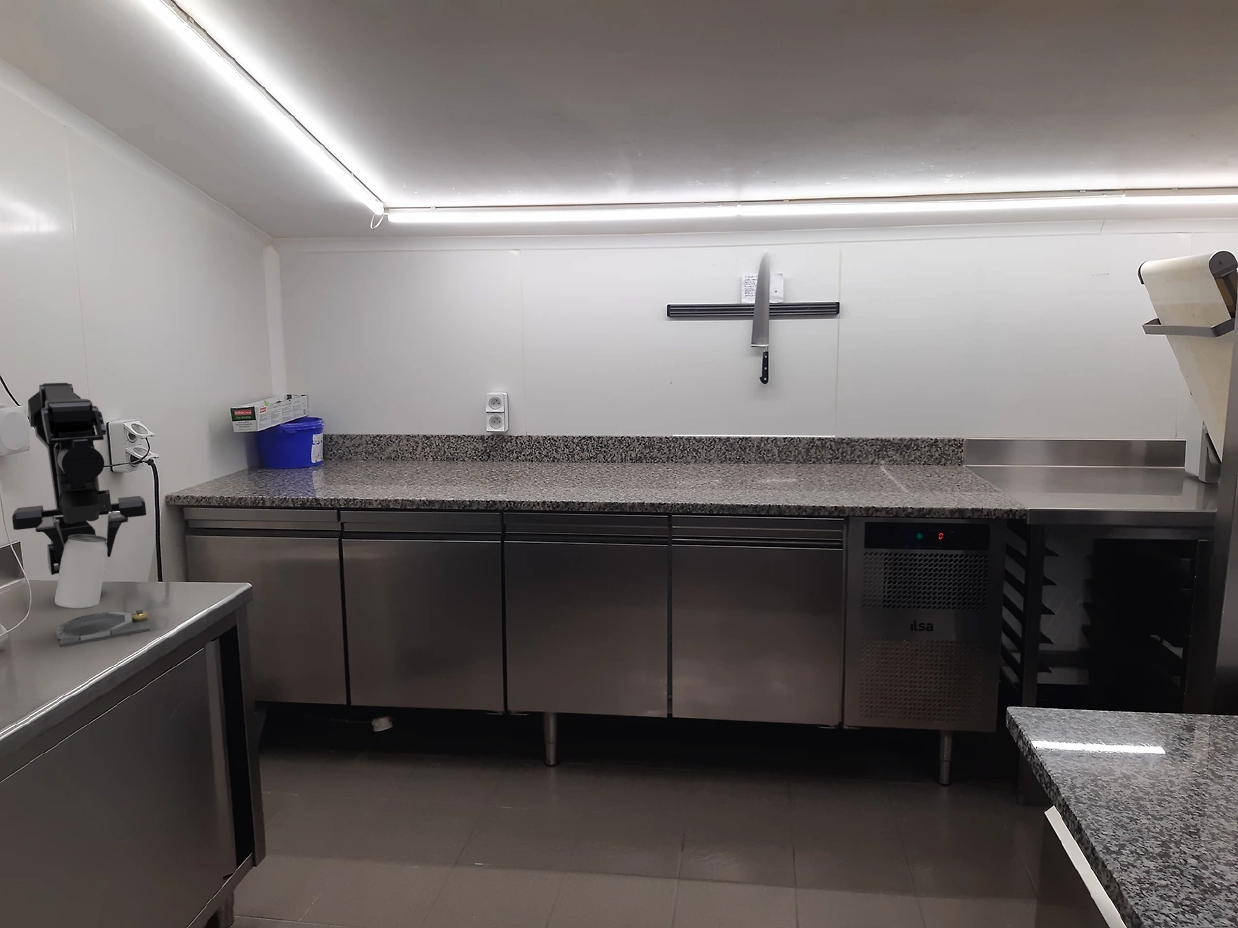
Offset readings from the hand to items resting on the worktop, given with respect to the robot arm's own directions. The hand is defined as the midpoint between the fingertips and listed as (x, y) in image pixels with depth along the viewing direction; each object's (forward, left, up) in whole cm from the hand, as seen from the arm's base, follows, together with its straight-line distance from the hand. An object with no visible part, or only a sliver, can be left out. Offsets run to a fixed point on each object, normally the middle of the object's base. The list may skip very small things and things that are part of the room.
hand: (87, 559), depth 132 cm
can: (0, -2, -8) cm, 8 cm away
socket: (0, 0, -13) cm, 13 cm away
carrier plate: (+1, +1, -13) cm, 13 cm away
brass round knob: (0, +7, -13) cm, 15 cm away
